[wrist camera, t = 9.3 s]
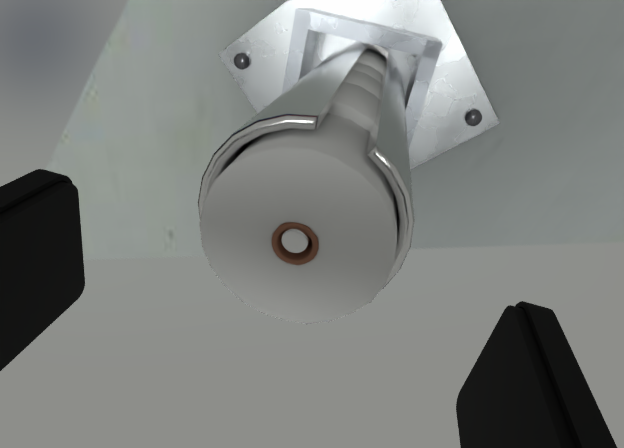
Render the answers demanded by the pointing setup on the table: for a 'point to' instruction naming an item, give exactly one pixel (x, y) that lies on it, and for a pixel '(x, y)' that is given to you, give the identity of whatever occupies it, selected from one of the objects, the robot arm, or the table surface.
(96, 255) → the table surface
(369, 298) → the air filter
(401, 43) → the metal base plate
